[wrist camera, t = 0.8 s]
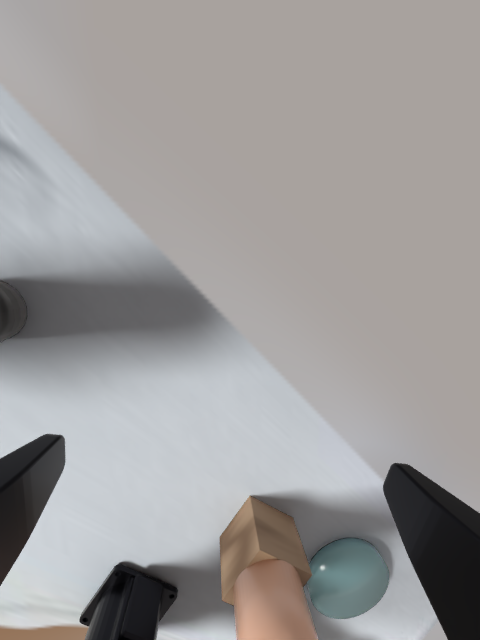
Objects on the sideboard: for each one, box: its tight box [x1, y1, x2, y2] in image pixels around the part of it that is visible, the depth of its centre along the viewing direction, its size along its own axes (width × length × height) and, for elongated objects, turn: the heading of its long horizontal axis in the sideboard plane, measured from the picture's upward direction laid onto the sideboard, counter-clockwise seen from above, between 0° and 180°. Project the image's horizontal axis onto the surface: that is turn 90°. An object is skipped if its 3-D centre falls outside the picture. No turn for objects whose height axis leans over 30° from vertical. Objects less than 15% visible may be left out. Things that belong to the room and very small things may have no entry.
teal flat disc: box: [306, 538, 389, 619], centre depth 27 cm, size 8×8×1 cm
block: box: [220, 496, 312, 606], centre depth 23 cm, size 5×5×5 cm
